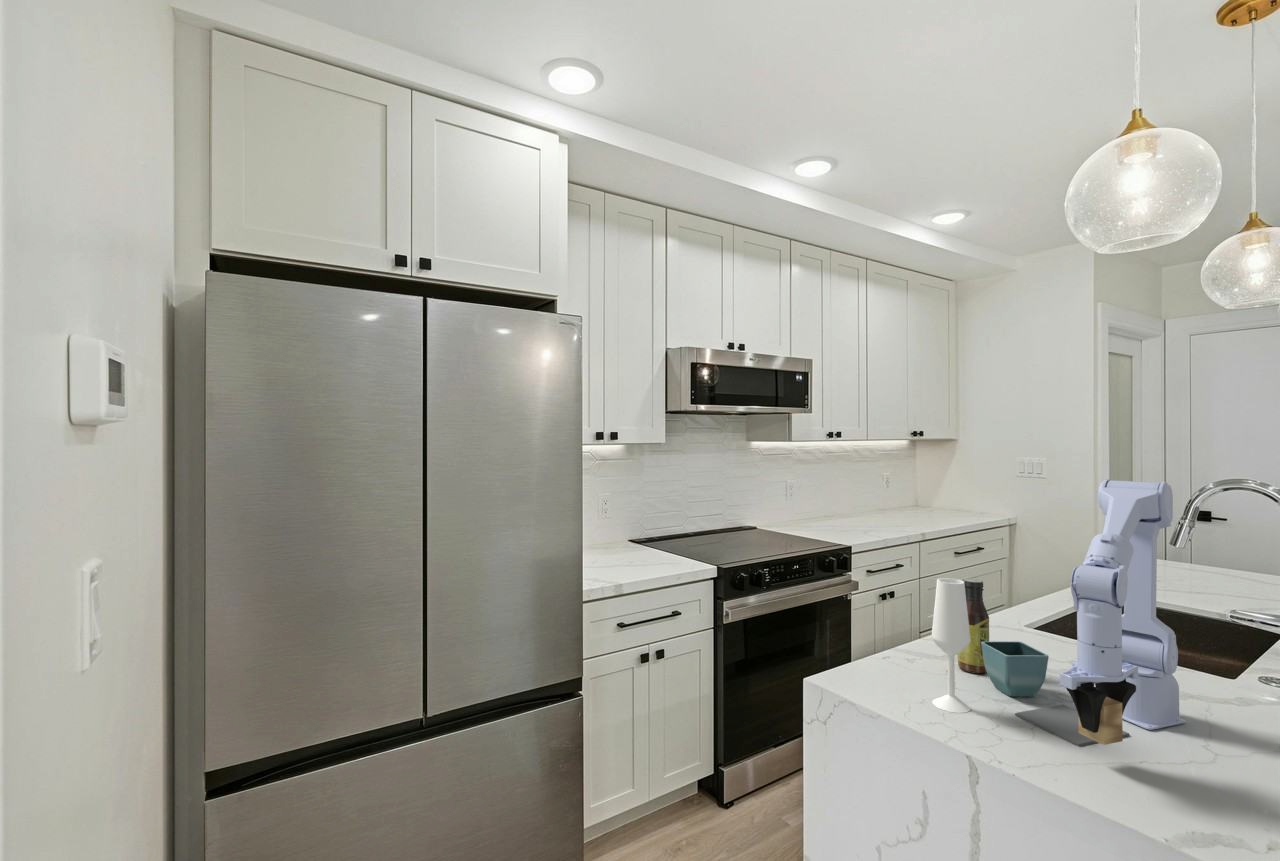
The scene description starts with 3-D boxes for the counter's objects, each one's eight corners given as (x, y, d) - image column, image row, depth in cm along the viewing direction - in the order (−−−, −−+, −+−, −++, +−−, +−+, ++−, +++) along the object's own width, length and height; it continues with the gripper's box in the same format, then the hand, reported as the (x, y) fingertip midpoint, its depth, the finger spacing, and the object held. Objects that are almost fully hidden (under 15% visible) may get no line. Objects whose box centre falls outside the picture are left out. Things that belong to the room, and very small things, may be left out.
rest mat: (1062, 706, 117) (1062, 704, 117) (1129, 735, 106) (1129, 733, 106) (1015, 715, 114) (1015, 712, 114) (1078, 746, 102) (1078, 743, 102)
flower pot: (1021, 683, 128) (1020, 640, 129) (1050, 701, 120) (1050, 655, 120) (980, 683, 128) (979, 641, 128) (1006, 701, 119) (1006, 656, 119)
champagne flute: (932, 695, 122) (932, 575, 123) (970, 702, 119) (970, 579, 120) (931, 708, 117) (930, 582, 117) (971, 715, 113) (970, 586, 114)
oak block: (1096, 729, 99) (1096, 692, 99) (1122, 741, 96) (1122, 702, 96) (1078, 733, 98) (1078, 695, 98) (1104, 745, 94) (1103, 706, 94)
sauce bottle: (987, 677, 131) (986, 585, 132) (955, 670, 135) (954, 581, 135) (991, 668, 137) (990, 579, 137) (960, 662, 140) (960, 575, 141)
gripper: (1106, 629, 103) (1107, 710, 103) (1041, 638, 99) (1042, 722, 99) (1152, 643, 96) (1153, 729, 96) (1085, 653, 92) (1085, 743, 92)
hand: (1100, 727), depth 97 cm, fingers closed on oak block, 4 cm apart
